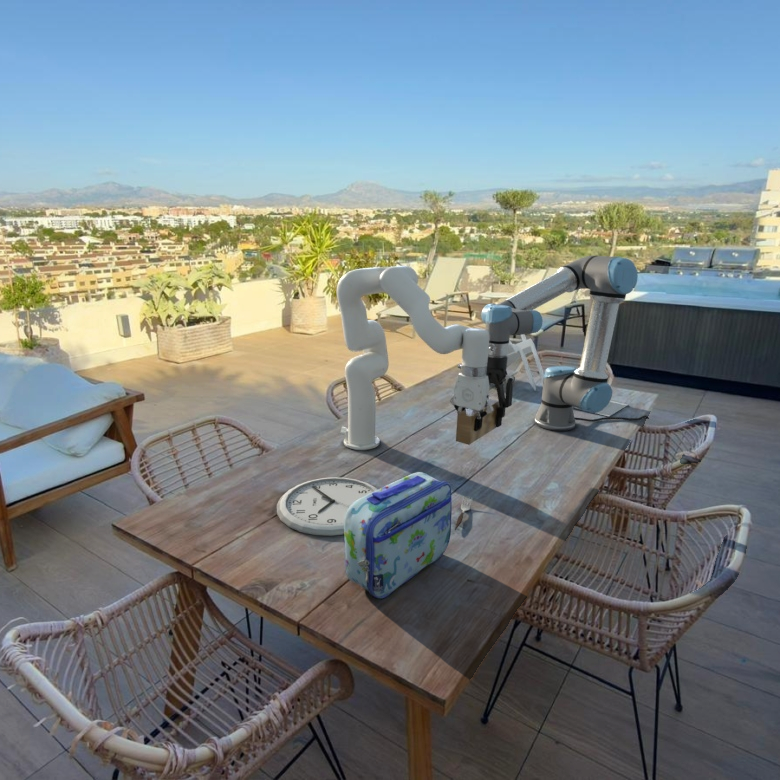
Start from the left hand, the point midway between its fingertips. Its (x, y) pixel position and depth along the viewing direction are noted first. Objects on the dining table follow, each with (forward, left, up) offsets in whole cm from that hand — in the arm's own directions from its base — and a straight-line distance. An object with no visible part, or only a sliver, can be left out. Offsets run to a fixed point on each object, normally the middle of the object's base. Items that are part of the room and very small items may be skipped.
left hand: (469, 427), depth 160 cm
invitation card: (+25, +90, -15) cm, 94 cm away
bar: (+1, +7, -4) cm, 8 cm away
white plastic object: (-24, +98, -15) cm, 101 cm away
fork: (+10, -27, -15) cm, 32 cm away
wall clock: (-23, -40, -15) cm, 48 cm away
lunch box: (+7, -55, -15) cm, 57 cm away
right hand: (+2, +14, -3) cm, 14 cm away
